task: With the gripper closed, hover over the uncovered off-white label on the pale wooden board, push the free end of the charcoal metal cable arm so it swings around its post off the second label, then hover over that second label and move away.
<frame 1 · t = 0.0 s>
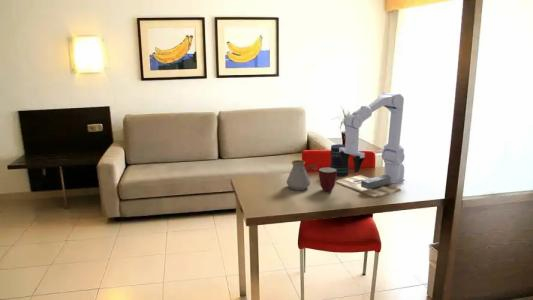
hand: (350, 169, 180), 10 cm above the table, tool pointing down, fingers open, 7 cm apart
storage jar: (339, 174, 209), on the table
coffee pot: (303, 191, 184), on the table
label board: (367, 186, 188), on the table
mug: (328, 191, 182), on the table
cable arm: (377, 182, 183), point 3 cm above the table, hinge at 0.0°
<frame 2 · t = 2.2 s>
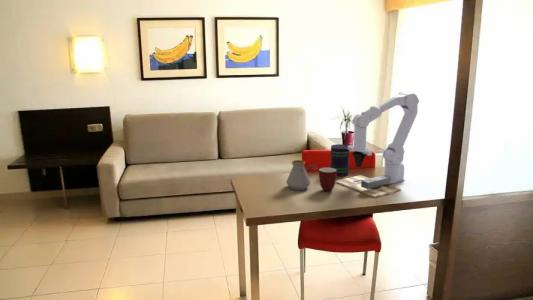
hand: (358, 166, 191), 8 cm above the table, tool pointing down, fingers closed
nothing on the table moved.
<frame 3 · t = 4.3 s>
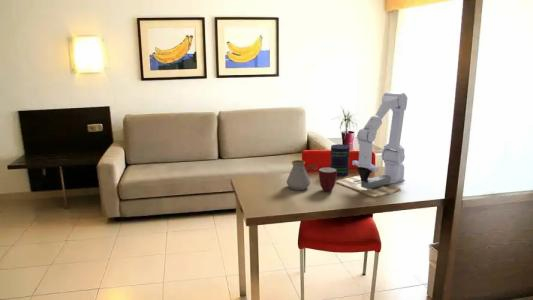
hand: (364, 183, 183), 3 cm above the table, tool pointing down, fingers closed
cable arm: (377, 182, 183), point 3 cm above the table, hinge at 0.0°, touching gripper
everything else where it was.
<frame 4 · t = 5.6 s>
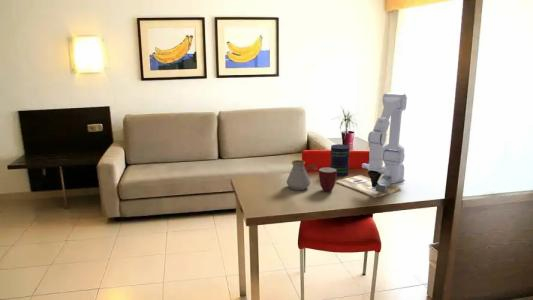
hand: (374, 186, 177), 3 cm above the table, tool pointing down, fingers closed
cable arm: (384, 184, 180), point 3 cm above the table, hinge at 30.5°, touching gripper
everything else where it was.
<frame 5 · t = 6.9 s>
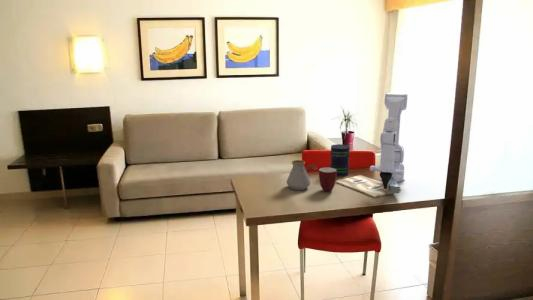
hand: (385, 188, 175), 3 cm above the table, tool pointing down, fingers closed
cable arm: (390, 184, 179), point 3 cm above the table, hinge at 54.1°, touching gripper
everything else where it was.
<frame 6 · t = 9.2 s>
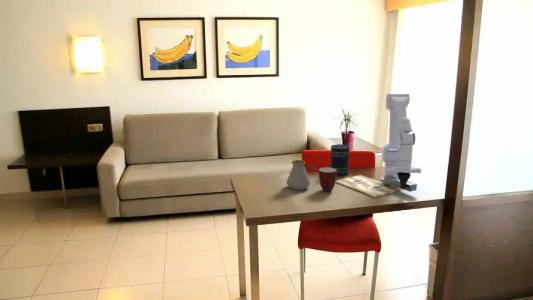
hand: (402, 188, 174), 3 cm above the table, tool pointing down, fingers closed
cable arm: (398, 184, 180), point 3 cm above the table, hinge at 90.0°, touching gripper
everything else where it was.
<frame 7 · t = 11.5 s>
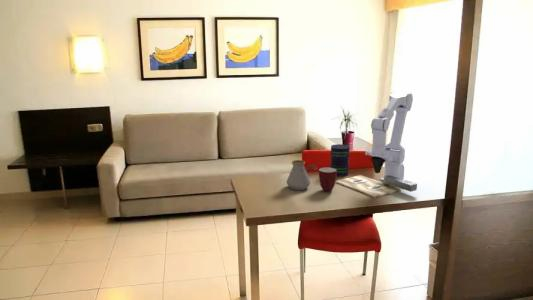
hand: (377, 172, 181), 8 cm above the table, tool pointing down, fingers closed
cable arm: (398, 184, 180), point 3 cm above the table, hinge at 90.7°
everything else where it was.
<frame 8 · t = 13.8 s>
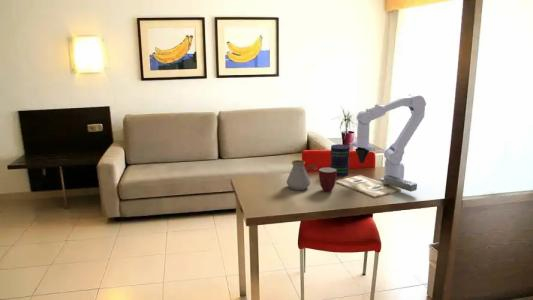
hand: (361, 162, 195), 9 cm above the table, tool pointing down, fingers closed
nothing on the table moved.
at the end: cable arm at +91° (first picture: +0°); the gripper is holding nothing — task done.
